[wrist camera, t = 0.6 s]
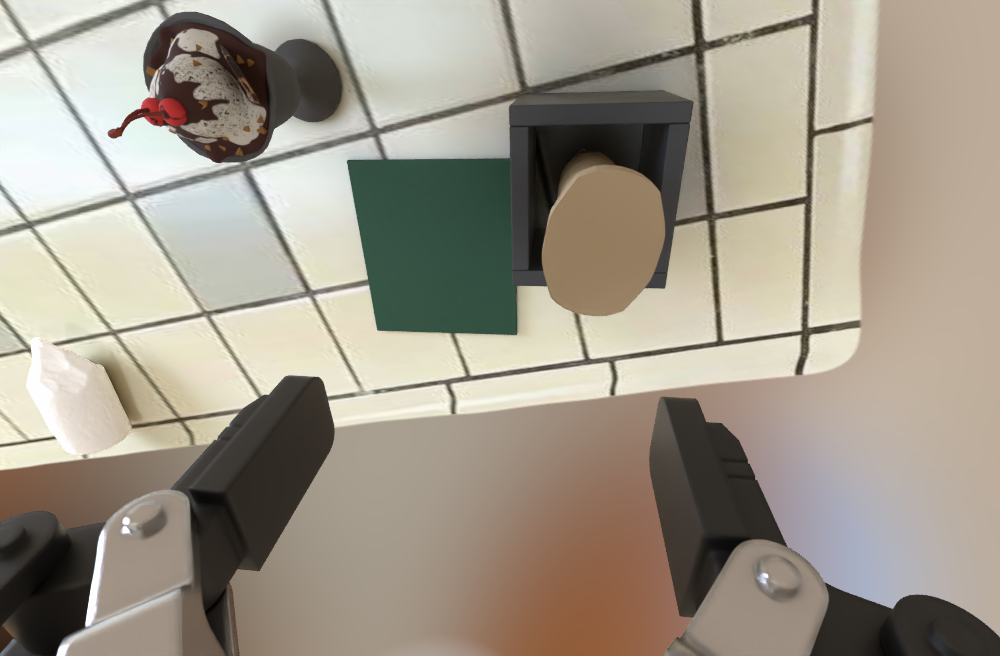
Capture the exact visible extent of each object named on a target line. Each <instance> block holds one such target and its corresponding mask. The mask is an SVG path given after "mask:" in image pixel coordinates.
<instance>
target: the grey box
mask: <svg viewBox="0 0 1000 656" xmlns="http://www.w3.org/2000/svg"><path fill="white" fill-rule="evenodd" d="M692 108H693V101H690V100H688V99H685V98H682V97H680V96H677V95H674V94H671V93H669V92H666V91H663V90H660V91H621V92H582V93H543V94H521V95H520V96H519V97H518V98H517V99H516V100H515V101H514V102H513V103H512V104H511V105H510V106H509V121H510V174H511V226H512V269H513V271H512V280H513V285H514V286H547V283H546V279H545V275H544V271H543V265H542V249H543V243H544V237H545V232H546V229H535V228H536V126H562V125H617V124H644V131H643V141H642V150H641V159H640V168H639V173H641V174H643V175H644V176H645V177H647V178H648V179H649V180H650V181H651V182H652V183H653V184H654V185H655V186H656V187H657V188H658V190H659V191H660V195H661V201H662V207H663V213H664V220H665V239H664V244H663V248H662V251H661V254H660V257H659V260H658V263H657V266H656V269H655V271H654V274H653V276H652V278H651V280H650V281H649V283H648V284H647V285H646V287H645V288H665V285H666V279H667V272H668V265H669V259H670V252H671V246H672V239H673V233H674V226H675V220H676V213H677V207H678V200H679V194H680V187H681V181H682V174H683V167H684V161H685V154H686V148H687V141H688V135H689V128H690V124H689V123H690V121H691V115H692Z"/></svg>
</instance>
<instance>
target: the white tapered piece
mask: <svg viewBox="0 0 1000 656" xmlns="http://www.w3.org/2000/svg"><path fill="white" fill-rule="evenodd" d="M31 349H32V355H33V360H32V366H31V368H30V371H29V375H28V380H27V388H28V390H29V392H30V394H31V396H32V398H33V399H34V401H35V403H36V405H37V406H38V408H39V410H40V412H41V414H42V416H43V418H44V420H45V422H46V424H47V425H48V427H49V429H50V430H51V432H52V433H53V434H54V436H55V437H56V438H57V439H58V441H59V442H60V444H61V445H62V447H63V448H64V450H65V451H67V452H68V453H70V454H74V455H83V454H91V453H95V452H98V451H102V450H104V449H107V448H109V447H112V446H113V445H115V444H117V443H119V442H120V441H122V440H123V439H124V438H125V437H126V436H127V435H128V434H129V433H130V431H131V428H132V426H131V423H130V421H129V419H128V417H127V415H126V413H125V411H124V409H123V407H122V405H121V403H120V400H119V398H118V396H117V394H116V392H115V390H114V388H113V385H112V383H111V381H110V379H109V377H108V375H107V373H106V371H105V369H104V367H103V366H102V365H99V364H95V363H93V362H91V361H89V360H88V359H85V358H83V357H82V356H78V355H76V354H75V353H74V352H72V351H68V350H66V349H63V348H59V347H57V346H55V345H53V344H51V343H50V342H48V341H47V340H44V339H42V338H39V337H36V338H33V339H32V340H31Z"/></svg>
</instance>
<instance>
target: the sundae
mask: <svg viewBox="0 0 1000 656" xmlns="http://www.w3.org/2000/svg"><path fill="white" fill-rule="evenodd" d="M143 70H144V77H145V83H146V86H147V88H148V91H149V93H150V98H147V99H145V100H144V101H143V103H142V105H141V109H138V110H135V111H134V112H132V113H131V114H129V115H128V116H127V117H126V118H125V120H124V122H123V123H122V126H121V127H120V128H116V129H111V130H109V132H108V136H109V137H111V138H117V137H120V136H122V133H123V131H124V129H125V128H126V126H127V125H128V124H129V123H130V122H131V121H133V120H135V119H138V118H141V117H145V119H146V120H147V121H148V122H149V123H151V124H153V125H155V126H160V127H161V126H163V125H164V126H167V127H168V128H169V131H170V132H172V133H174V134H177V135H178V137H179V138H180V139H181V140H182V141H183V142H184V143H185V144H186V145H187V146H188V147H190V148H191V149H192V150H194V151H195V152H196V153H198V154H199V155H202V156H204V157H207V158H209V159H211V160H212V161H213V162H215V163H222V162H243V161H247V160H250V159H253V158H255V157H257V156H259V155H260V154H262V153H263V152H264V150H265V149H266V148H267V147H268V145H269V142H270V140H271V137H272V134H273V131H274V129H275V128H277V127H278V126H280V125H281V124H283V123H284V122H286V121H287V120H288V119H289V118H290V117H292V116H294V117H296V118H298V119H301V120H304V121H307V122H318V121H322V120H324V119H326V118H328V117H329V116H331V115H332V114H333V113H334V111H335V110H336V108H337V106H338V104H339V102H340V97H341V82H340V77H339V73H338V70H337V68H336V66H335V64H334V62H333V61H332V59H331V58H330V56H329V55H328V54H327V53H326V52H325V51H324V50H323V49H321V48H320V47H319V46H318V45H316V44H314V43H312V42H309V41H306V40H303V39H295V40H290V41H287V42H285V43H283V44H282V45H281V46H280V47H278V48H277V49H276V51H275V52H273V51H271V50H269V49H267V48H265V47H263V46H261V45H258V44H255V43H252V42H251V41H250V40H249V39H248V38H246V37H245V36H244V35H242V34H241V33H240V32H239V31H237V30H236V29H234V28H233V27H231V26H230V25H228V24H226V23H225V22H223V21H221V20H218V19H216V18H214V17H211V16H209V15H205V14H202V13H198V12H181V13H176V14H174V15H172V16H171V17H169V18H167V19H166V20H165V21H164V22H163V23H162V24H160V26H159V27H158V28H157V29H156V30H155V31H154V32H153V34H152V36H151V38H150V40H149V41H148V44H147V47H146V50H145V53H144V62H143ZM141 113H143V114H141ZM138 114H139V115H138Z"/></svg>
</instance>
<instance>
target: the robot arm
mask: <svg viewBox="0 0 1000 656" xmlns="http://www.w3.org/2000/svg"><path fill="white" fill-rule="evenodd" d="M333 440H334V423H333V419H332V415H331V411H330V407H329V403H328V399H327V395H326V391H325V387H324V383H323V381H322V380H321V378H319V377H308V376H286V377H284V378H283V379H282V380H281V382H280V383H279V384H278V385H277V386H276V387H275V388H274V390H273V391H272V392H271V393H270V394H269V395H263V396H261V397H260V398H258V399H257V400H255V401H254V402H252V403H251V404H249V405H248V406H246V407H244V408H243V409H242V410H241V412H240V413H239V414H238V415H237V416H236V417H235V418H234V419H233V420H232V421H231V423H230V426H229V427H226V428H225V429H224V430H223V431H222V433H221V434H220V435H219V436H218V439H217V440H214V441H213V443H212V444H211V445H210V446H209V447H208V448H207V449H206V450H205V451H204V453H203V454H202V455H201V456H200V457H199V458H198V459H197V460H196V461H195V463H194V464H193V465H192V466H191V467H190V468H189V469H188V470H187V471H186V472H185V474H184V475H183V476H182V477H181V478H180V479H179V480H178V481H177V482H176V483H175V485H174V486H173V487H172V488H171V489H170V490H161V491H156V492H153V493H149V494H146V495H144V496H141V497H139V498H137V499H135V500H133V501H131V502H130V503H128V504H126V505H125V506H124V507H122V508H121V509H119V510H118V511H117V512H116V513H115V514H114V515H113V516H112V517H111V518H110V519H109V520H108V521H107V522H103V523H98V524H92V525H87V526H81V527H76V528H70V529H64V528H63V526H62V525H61V523H60V522H59V520H58V519H57V518H56V516H55V515H53V514H52V513H50V512H45V511H35V512H28V513H24V514H20V515H17V516H14V517H12V518H9V519H7V520H5V521H3V522H0V627H1V626H3V627H4V628H5V629H6V630H7V631H8V632H9V633H10V634H11V635H12V636H13V637H14V639H13V640H12V641H11V643H10V644H9V645H8V646H7V647H6V648H5V649H4V650H3V652H2V653H1V654H0V656H239V646H238V638H237V628H236V619H235V610H234V601H233V592H232V588H231V585H230V583H229V581H230V580H231V578H232V577H233V575H234V574H235V572H236V570H237V569H243V570H253V571H260V569H261V568H262V566H263V564H264V562H265V561H266V559H267V557H268V556H269V554H270V552H271V550H272V549H273V547H274V545H275V544H276V542H277V540H278V538H279V537H280V535H281V534H282V532H283V530H284V528H285V527H286V525H287V523H288V522H289V520H290V518H291V516H292V515H293V513H294V511H295V510H296V508H297V506H298V505H299V503H300V501H301V500H302V498H303V496H304V494H305V493H306V491H307V489H308V488H309V486H310V484H311V482H312V481H313V479H314V477H315V476H316V474H317V472H318V471H319V469H320V467H321V466H322V464H323V462H324V460H325V459H326V457H327V455H328V454H329V452H330V450H331V448H332V445H333ZM649 461H650V474H651V479H652V484H653V489H654V494H655V499H656V503H657V508H658V513H659V518H660V523H661V527H662V533H663V538H664V542H665V547H666V552H667V557H668V561H669V567H670V571H671V576H672V581H673V586H674V591H675V596H676V601H677V605H678V610H679V615H680V616H683V617H693V619H692V621H691V622H690V624H689V626H688V627H687V629H686V631H685V632H684V634H683V635H682V637H681V638H678V637H677V638H676V639H675V640H674V641H673V642H672V644H671V645H670V647H669V648H668V649H667V651H666V653H665V654H664V656H1000V637H999V636H998V635H997V634H996V633H995V632H994V631H993V630H992V629H990V628H989V627H988V626H987V625H985V623H983V622H982V621H981V620H979V619H978V618H976V617H975V616H973V615H972V614H970V613H969V612H967V611H966V610H964V609H962V608H960V607H958V606H956V605H954V604H952V603H950V602H948V601H945V600H942V599H939V598H936V597H932V596H927V595H909V596H906V597H903V598H902V599H900V600H899V601H898V602H897V604H896V605H895V607H894V608H893V609H891V608H888V607H886V606H883V605H880V604H877V603H875V602H872V601H869V600H866V599H863V598H861V597H858V596H855V595H852V594H849V593H847V592H844V591H842V590H839V589H837V588H835V587H833V586H831V585H829V584H827V583H825V582H824V581H823V579H822V577H821V576H820V574H819V573H818V572H817V570H816V569H815V568H814V567H813V566H812V565H811V564H810V563H809V562H808V561H807V560H806V559H805V558H804V557H802V556H801V555H800V554H798V553H797V552H795V551H793V550H792V549H790V548H788V547H787V545H786V543H785V541H784V539H783V536H782V534H781V532H780V530H779V528H778V526H777V523H776V522H775V519H774V517H773V514H772V512H771V510H770V508H769V506H768V503H767V501H766V499H765V497H764V494H763V492H762V490H761V488H760V486H759V483H758V481H757V480H755V475H754V473H753V470H752V468H751V466H750V464H748V459H747V457H746V455H745V453H744V450H743V448H742V446H741V444H740V442H739V440H738V439H737V438H736V437H735V436H734V435H733V434H732V433H731V432H730V431H729V430H728V429H727V428H726V427H725V426H724V425H723V424H722V423H709V422H706V421H705V418H704V415H703V413H702V410H701V407H700V405H699V403H698V401H697V400H696V399H692V398H673V397H661V398H660V400H659V403H658V408H657V413H656V419H655V424H654V430H653V435H652V440H651V446H650V458H649Z"/></svg>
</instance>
